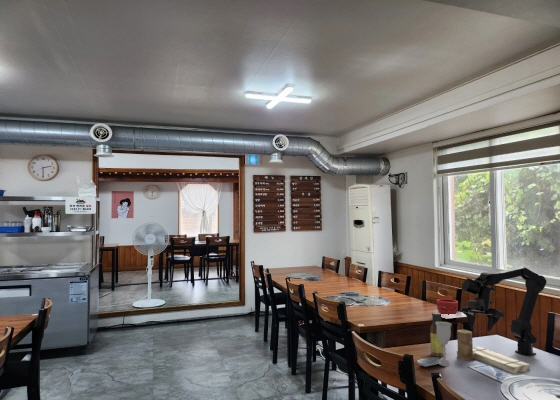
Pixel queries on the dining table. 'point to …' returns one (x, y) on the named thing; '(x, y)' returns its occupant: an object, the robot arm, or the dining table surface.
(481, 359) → the board
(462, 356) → the tan pillar on plinth
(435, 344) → the sauce bottle
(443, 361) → the chalice
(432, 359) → the dining table surface
